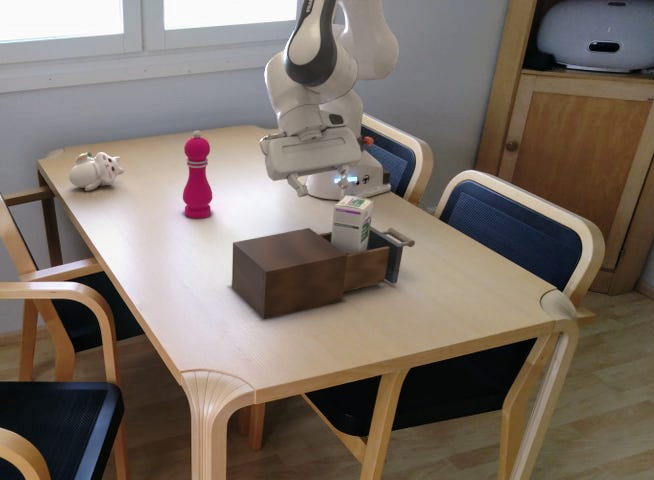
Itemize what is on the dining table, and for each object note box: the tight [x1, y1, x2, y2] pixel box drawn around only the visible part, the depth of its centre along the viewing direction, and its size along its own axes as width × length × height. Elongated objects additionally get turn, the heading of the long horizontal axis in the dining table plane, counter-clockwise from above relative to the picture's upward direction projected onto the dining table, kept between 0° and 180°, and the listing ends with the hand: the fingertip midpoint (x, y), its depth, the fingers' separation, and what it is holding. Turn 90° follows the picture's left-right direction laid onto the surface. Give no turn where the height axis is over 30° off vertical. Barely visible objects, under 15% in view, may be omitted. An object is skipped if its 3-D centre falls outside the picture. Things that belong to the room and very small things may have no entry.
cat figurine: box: [68, 151, 125, 192], centre depth 182 cm, size 10×8×15 cm
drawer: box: [317, 225, 416, 293], centre depth 133 cm, size 20×12×8 cm, turn 111°
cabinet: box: [231, 227, 348, 320], centre depth 128 cm, size 17×14×10 cm
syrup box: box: [331, 196, 374, 255], centre depth 130 cm, size 6×6×14 cm
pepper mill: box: [182, 130, 213, 219], centre depth 160 cm, size 7×7×20 cm
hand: (324, 191), depth 135 cm, fingers open, 8 cm apart
